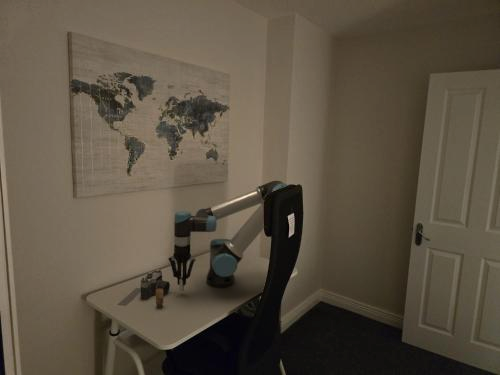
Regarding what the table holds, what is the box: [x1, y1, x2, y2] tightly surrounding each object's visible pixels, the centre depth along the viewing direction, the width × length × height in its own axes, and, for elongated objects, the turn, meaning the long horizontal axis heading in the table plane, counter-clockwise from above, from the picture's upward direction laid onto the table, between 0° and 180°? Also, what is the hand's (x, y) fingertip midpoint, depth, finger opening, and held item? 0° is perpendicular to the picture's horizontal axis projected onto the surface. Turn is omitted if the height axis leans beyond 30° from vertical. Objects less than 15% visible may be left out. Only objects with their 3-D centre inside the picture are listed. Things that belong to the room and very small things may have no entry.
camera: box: [140, 268, 171, 301], centre depth 159 cm, size 16×10×10 cm, turn 166°
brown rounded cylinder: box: [155, 289, 164, 309], centre depth 146 cm, size 3×3×8 cm
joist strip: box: [117, 287, 141, 306], centre depth 156 cm, size 4×17×1 cm, turn 171°
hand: (181, 291), depth 158 cm, fingers closed
